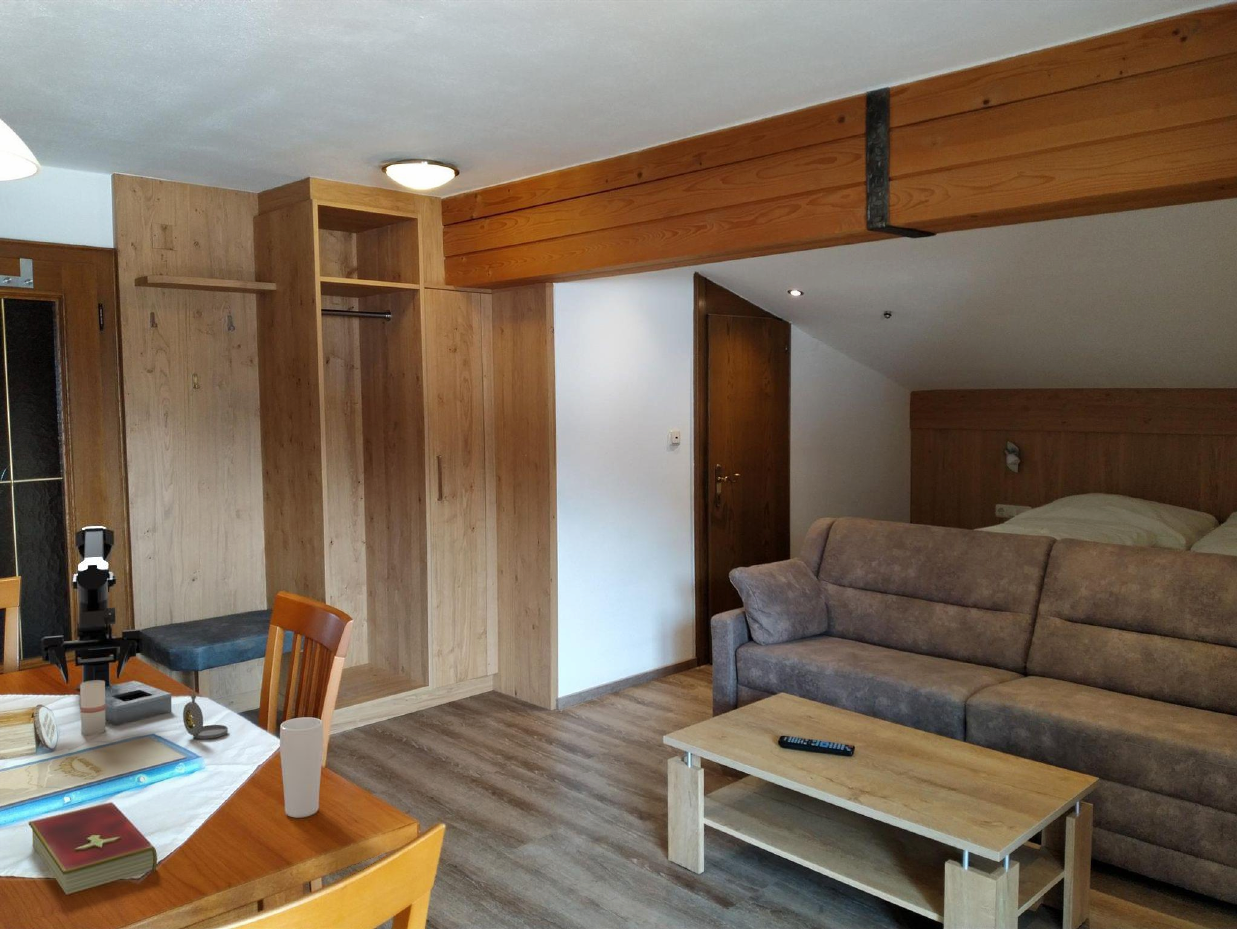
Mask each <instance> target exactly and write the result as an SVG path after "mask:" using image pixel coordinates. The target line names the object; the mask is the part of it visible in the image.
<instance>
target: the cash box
mask: <svg viewBox="0 0 1237 929" xmlns="http://www.w3.org/2000/svg"><path fill="white" fill-rule="evenodd" d="M133 698H134V699H133ZM128 699H131V700H128ZM105 704H106V708H105V722H107V723H109V724H111V725H114V726H121V725H123V724H127V723H128V724H129V723H131V722H136V721H140V720H144V719H147V718H151V717H156V716H159V715H163V714H168V713H171V712H172V693H171V692H167V691H165V690H162V689H159V688H156V687H154V686H150V685H148V684H146V683H143V682H140V681H136V680H131V681H126V682H121V683H117V684H115V685H111V686H107V687H105ZM80 706H81V692H79V711H80V710H81V708H80Z"/></svg>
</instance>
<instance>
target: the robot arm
mask: <svg viewBox="0 0 1237 929" xmlns="http://www.w3.org/2000/svg"><path fill="white" fill-rule="evenodd" d="M74 549H75V551H78V558H79V560H80V562H81V563H79V564H78V565H77V573H73V580H72V587H73V588H72V589H73V590H74V591H77V599H78V608H77V609H78V611H77V613H78V615H77V616H78V620H77V622H78V623H77V624H76V637H77V639H76V640H70V641H69V640H68V641H67V640H66V641H64V640H65V639H64V638H65V637H64V635H51V636H44V637H43V638H42V639H40V640H41V641H40V651H41V658H42V662H46V663H47V662H49V664H50V665H55V666H56V667H57V669H58V670H59V672H60V673H61V676H62V678H63V680H64V682H65V684H69V681H70V679H69V678H70V676H69V669H68V664H67V662H68V661H67V655H66V652H74V656H75V658H74V659H75V660H74V662H75V663H74V664H75V665H74V666H75V667H81V669H82V670H81V671H82V672H81V674H82V676H81V677H82V681H81V683H83V682H86V681H92V680H103V681H105V687H107V686H111V685H116V684H114V683H112V682H111V669H110V668H111V663H113V664H114V663H117V665H116V679H120V678H121V675H122V673H123V671H124V669H125V667H126V665H127V663H128V662H129V661H130V659H131V658H133V657H136V656H137V654H141V653H142V652H143V640H144V638H143V631H142V630H141V629H140V628H137V629H136V628H135V629H127V630H126V629H123V630H121V637H120V636H119V637H116V636H113V628H112V626H111V625H115V624H116V623H117V622H116V607H109V592H110V589H111V588H112V589H113V587H115V585H116V584H117V577H116V575H115V574H114V573H113V571H110V563H109V561H110V559H111V558H112V549H115V531H114V530H112V529H108V528H106V527H104V526H103V525H101V526H99V525H98V526H85V527H82V530H79V531H75V532H74ZM75 689H76V690H79V691H80V685H77V686H76V688H75Z"/></svg>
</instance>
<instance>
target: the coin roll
mask: <svg viewBox="0 0 1237 929" xmlns="http://www.w3.org/2000/svg"><path fill="white" fill-rule="evenodd" d="M79 686H80V690H79V691H80V692H81V706H80V705H79V709H80V708H81V711H80V733H81V734H82V735H86V736H91V735H92V736H93V735H97V734H101V733H102V734H103V733H104V732H105V731H106V727H107V726H106V721H105V708H106V704H105V681H103V680H92V681H86V682H83V683H82V682H81V683H80V685H79ZM80 692H79V693H80Z"/></svg>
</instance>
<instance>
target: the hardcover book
mask: <svg viewBox="0 0 1237 929" xmlns="http://www.w3.org/2000/svg"><path fill="white" fill-rule="evenodd" d="M28 825H29V827H30V828H31V830H32V832H31V833H32V846H33V847H34V849H35V850H36V851H37V853H38V855H39V857H41V859H42V860H43V862H44V863H45V865H46V866H47V868H48V869H49V871H50V872H51V874H52V875H53V877H54V878H55V880H56V882H57V883H58V884H59V886H60V887H61V889H62V890H63V892H64V893H65V895H67V896H68V895H70V894H73V893H74V894H75V893H76V892H80V891H84V890H87V889H90V888H94V887H97V886H101V885H104V884H108V883H111V882H115V881H119V880H121V879H125V878H128V877H131V876H132V877H133V876H135V875H139V874H143V873H146V872H150V871H156V870H157V866H158V854H157V850H156V847H155V846H154V844H153V845H152V843H151V842H150V841H149V840H148V839H147V838H146V837H145V836H144V835H143V834H142V832H141V831H139V830H138V828H137V827H136V826H135V825H134V824H133V823H132V822H131V821H130V819H128V817H127V816H126V815H125V814H124V813H123V812H122V810H120V809H119V807H117V805H116V804H115V803H113V801H109V802H106V803H100V804H97V805H93V806H89V807H85V808H80V809H77V810H73V811H68V812H64V813H59V814H54V815H52V816H46V817H43V818H38V819H35V820H30V821H28Z"/></svg>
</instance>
